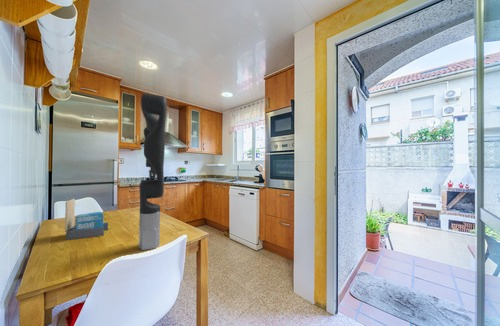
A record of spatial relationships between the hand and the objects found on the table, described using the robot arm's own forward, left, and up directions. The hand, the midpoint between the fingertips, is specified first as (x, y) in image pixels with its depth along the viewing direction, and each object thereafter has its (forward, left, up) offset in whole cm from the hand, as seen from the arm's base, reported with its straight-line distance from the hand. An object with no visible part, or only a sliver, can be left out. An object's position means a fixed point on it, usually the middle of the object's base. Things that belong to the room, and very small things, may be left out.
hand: (152, 187), depth 116 cm
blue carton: (+7, +32, -27) cm, 43 cm away
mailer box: (+7, +32, -27) cm, 43 cm away
